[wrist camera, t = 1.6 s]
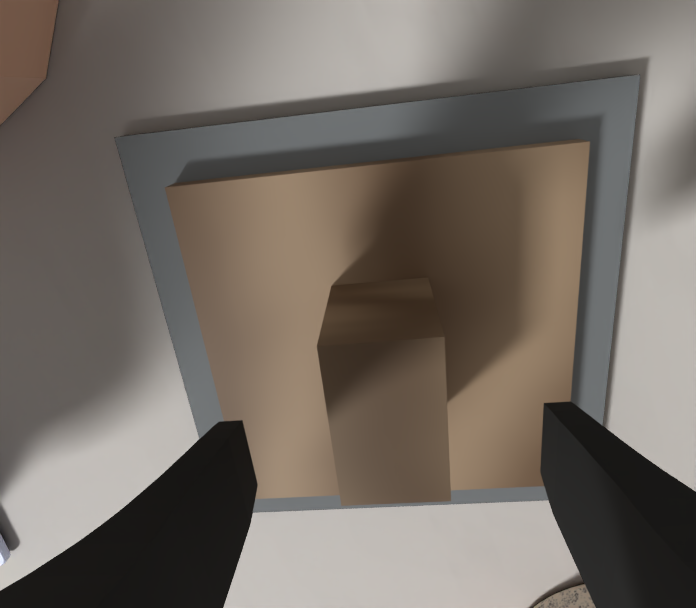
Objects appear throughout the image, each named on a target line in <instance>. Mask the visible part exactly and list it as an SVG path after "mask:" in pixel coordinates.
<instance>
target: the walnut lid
mask: <svg viewBox="0 0 696 608" xmlns="http://www.w3.org/2000/svg"><path fill="white" fill-rule="evenodd" d="M589 149H590V141H585V140H581V139H574V140H565V141H556V142H547V143H538V144H528V145H519V146H510V147H501V148H492V149H482V150H473V151H464V152H455V153H446V154H437V155H427V156H418V157H409V158H400V159H391V160H381V161H372V162H363V163H354V164H345V165H335V166H326V167H317V168H308V169H299V170H289V171H280V172H271V173H262V174H253V175H243V176H234V177H225V178H216V179H207V180H198V181H188V182H179V183H174V184H171V185H169V186H167V187H165V191H166V195H167V199H168V203H169V207H170V211H171V215H172V219H173V223H174V226H175V230H176V234H177V238H178V242H179V246H180V250H181V254H182V258H183V262H184V266H185V270H186V274H187V278H188V282H189V286H190V289H191V293H192V297H193V301H194V305H195V309H196V313H197V317H198V321H199V325H200V329H201V333H202V337H203V341H204V345H205V349H206V352H207V356H208V360H209V364H210V368H211V372H212V376H213V380H214V384H215V388H216V392H217V396H218V400H219V404H220V408H221V412H222V415H223V419H224V421H237V420H243V424H244V429H245V433H246V437H247V441H248V445H249V450H250V454H251V458H252V462H253V467H254V471H255V475H256V479H257V484H258V486H257V492H256V497H255V499H267V498H289V497H312V496H334V495H340V500H341V506H350V505H373V504H397V503H421V502H445V501H451V490H470V489H492V488H515V487H538V486H544V483H543V480H542V477H541V473H540V466H541V446H542V427H543V407H544V403H552V402H570V401H571V388H572V374H573V361H574V348H575V335H576V321H577V308H578V295H579V282H580V268H581V255H582V242H583V229H584V215H585V202H586V189H587V176H588V162H589Z"/></svg>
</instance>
